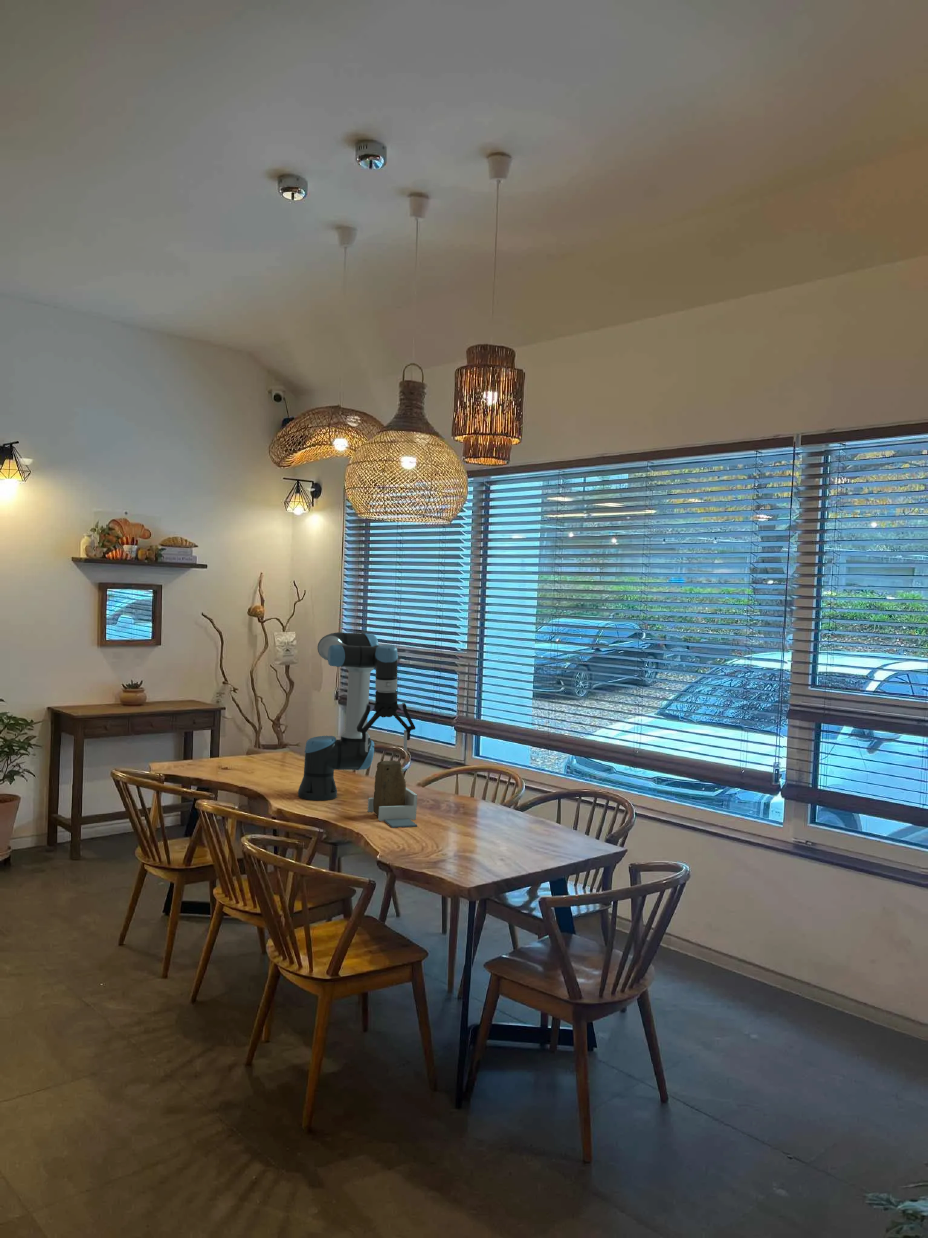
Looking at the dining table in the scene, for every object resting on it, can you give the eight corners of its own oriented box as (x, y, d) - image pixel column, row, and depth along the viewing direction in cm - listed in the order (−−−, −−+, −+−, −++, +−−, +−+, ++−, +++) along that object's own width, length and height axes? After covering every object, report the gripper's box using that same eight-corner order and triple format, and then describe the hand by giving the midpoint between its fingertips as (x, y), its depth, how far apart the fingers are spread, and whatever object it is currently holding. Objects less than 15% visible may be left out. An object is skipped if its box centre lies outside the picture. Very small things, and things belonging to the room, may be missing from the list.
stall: (367, 811, 329) (369, 787, 329) (403, 810, 334) (404, 786, 334) (379, 821, 316) (380, 796, 316) (415, 819, 322) (417, 794, 321)
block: (379, 819, 319) (382, 764, 318) (370, 814, 325) (374, 760, 325) (406, 817, 324) (409, 762, 324) (397, 812, 331) (400, 758, 330)
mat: (384, 821, 316) (384, 819, 316) (408, 820, 320) (408, 818, 320) (392, 828, 308) (392, 826, 308) (417, 826, 312) (417, 825, 312)
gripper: (350, 694, 299) (350, 754, 302) (423, 691, 305) (423, 751, 308) (349, 689, 307) (349, 748, 310) (420, 687, 312) (419, 745, 315)
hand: (386, 750), depth 309 cm, fingers open, 13 cm apart
